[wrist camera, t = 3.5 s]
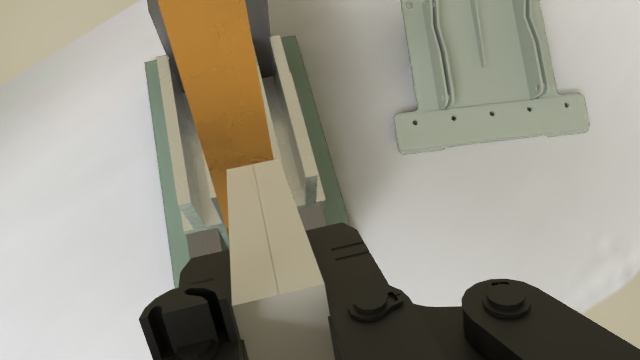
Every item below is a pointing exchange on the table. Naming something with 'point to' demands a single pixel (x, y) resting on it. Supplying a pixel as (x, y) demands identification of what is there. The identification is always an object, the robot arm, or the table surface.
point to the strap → (220, 84)
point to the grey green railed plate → (172, 211)
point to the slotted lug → (258, 28)
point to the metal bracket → (481, 76)
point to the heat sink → (287, 146)
